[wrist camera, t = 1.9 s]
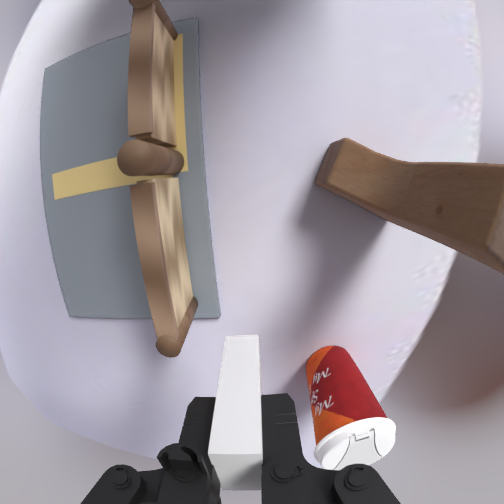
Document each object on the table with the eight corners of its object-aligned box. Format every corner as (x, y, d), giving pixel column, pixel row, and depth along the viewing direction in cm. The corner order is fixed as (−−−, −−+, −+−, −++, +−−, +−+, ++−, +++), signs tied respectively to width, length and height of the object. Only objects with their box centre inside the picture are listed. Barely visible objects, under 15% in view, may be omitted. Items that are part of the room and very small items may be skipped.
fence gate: (162, 179, 24) (125, 182, 17) (182, 176, 24) (152, 178, 17) (181, 312, 28) (159, 356, 20) (199, 311, 28) (182, 357, 20)
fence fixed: (157, 32, 20) (125, -11, 12) (180, 27, 20) (154, -20, 12) (161, 176, 25) (118, 178, 16) (185, 173, 25) (151, 173, 16)
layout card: (47, 69, 21) (44, 68, 20) (197, 19, 20) (197, 17, 20) (71, 314, 29) (69, 316, 29) (220, 315, 29) (220, 317, 28)
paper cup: (293, 345, 30) (314, 444, 17) (358, 331, 30) (407, 417, 16) (300, 391, 32) (316, 482, 19) (356, 379, 32) (392, 461, 18)
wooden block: (312, 183, 25) (419, 203, 8) (330, 141, 24) (452, 98, 7) (387, 221, 26) (520, 284, 9) (403, 183, 25) (545, 208, 8)
